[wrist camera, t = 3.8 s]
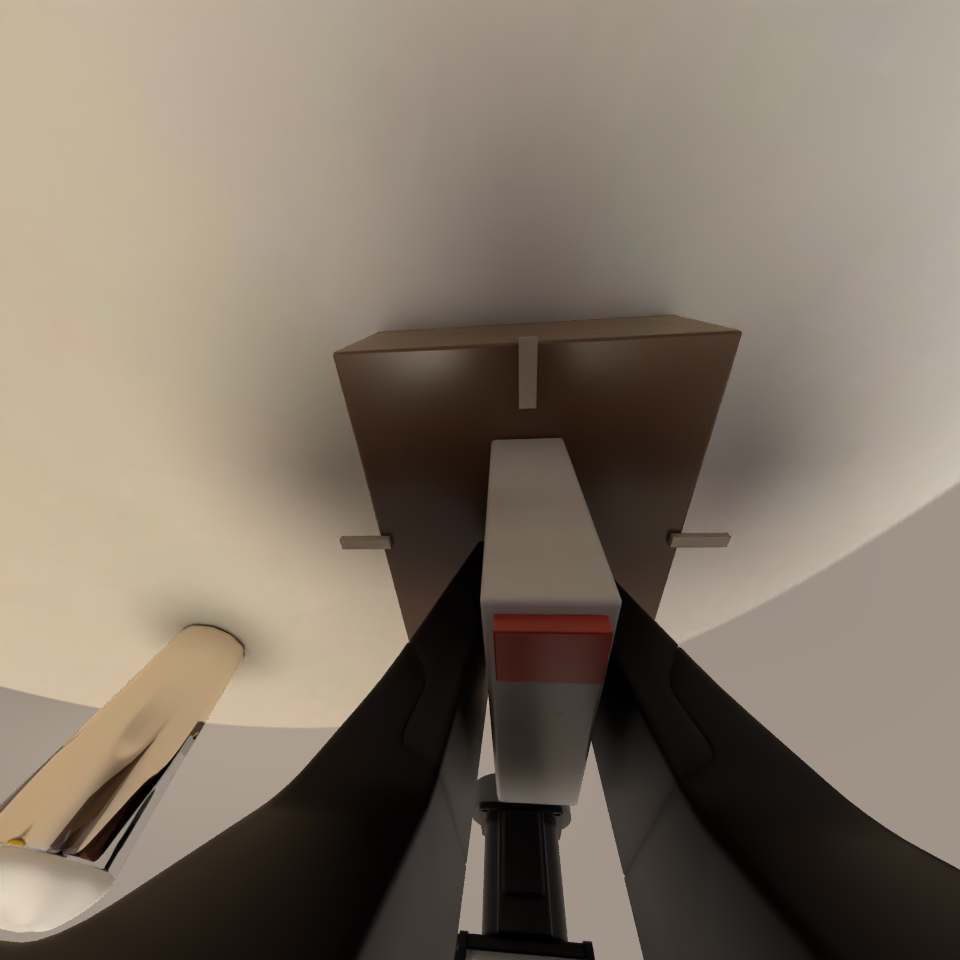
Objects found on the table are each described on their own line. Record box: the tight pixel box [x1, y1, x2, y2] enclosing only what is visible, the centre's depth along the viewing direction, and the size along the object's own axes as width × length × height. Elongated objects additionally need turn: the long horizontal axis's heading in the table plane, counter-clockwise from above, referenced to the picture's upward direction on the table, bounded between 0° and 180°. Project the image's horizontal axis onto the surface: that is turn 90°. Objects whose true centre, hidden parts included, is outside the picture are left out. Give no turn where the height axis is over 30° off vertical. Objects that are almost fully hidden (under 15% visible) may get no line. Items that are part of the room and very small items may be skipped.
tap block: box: [333, 315, 742, 643], centre depth 10 cm, size 10×10×3 cm
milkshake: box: [0, 625, 243, 932], centre depth 13 cm, size 4×5×10 cm
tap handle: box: [480, 438, 622, 806], centre depth 7 cm, size 6×2×5 cm, turn 4°
